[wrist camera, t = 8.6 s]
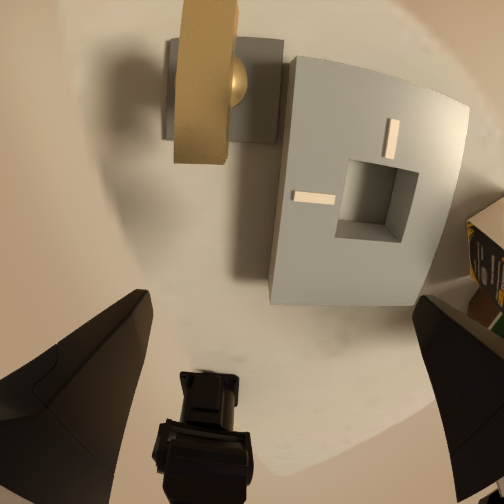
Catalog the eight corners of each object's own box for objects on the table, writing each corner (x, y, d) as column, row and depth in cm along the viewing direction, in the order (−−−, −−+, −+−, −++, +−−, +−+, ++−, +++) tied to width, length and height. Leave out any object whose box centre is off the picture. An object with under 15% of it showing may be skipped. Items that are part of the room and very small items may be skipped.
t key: (252, 37, 14) (253, -3, 7) (244, 141, 17) (239, 165, 11) (200, 36, 13) (169, 0, 7) (193, 140, 17) (159, 163, 11)
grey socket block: (400, 284, 23) (414, 306, 20) (267, 279, 23) (269, 306, 20) (445, 103, 15) (471, 107, 12) (289, 63, 15) (297, 54, 12)
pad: (274, 143, 17) (275, 144, 17) (167, 139, 17) (166, 140, 17) (283, 41, 14) (284, 40, 14) (172, 39, 14) (170, 38, 13)
